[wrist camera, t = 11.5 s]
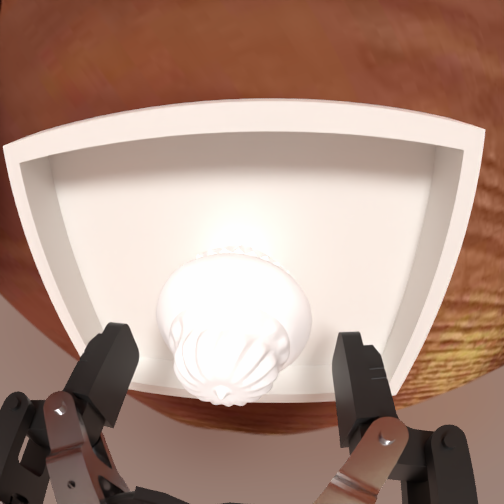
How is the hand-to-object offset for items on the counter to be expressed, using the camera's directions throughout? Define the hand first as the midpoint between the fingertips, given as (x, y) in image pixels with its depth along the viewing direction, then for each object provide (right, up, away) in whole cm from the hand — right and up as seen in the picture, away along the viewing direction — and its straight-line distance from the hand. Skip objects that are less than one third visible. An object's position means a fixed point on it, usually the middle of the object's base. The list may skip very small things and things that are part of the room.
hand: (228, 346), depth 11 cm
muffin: (0, +3, +4) cm, 5 cm away
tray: (0, +3, +4) cm, 5 cm away
